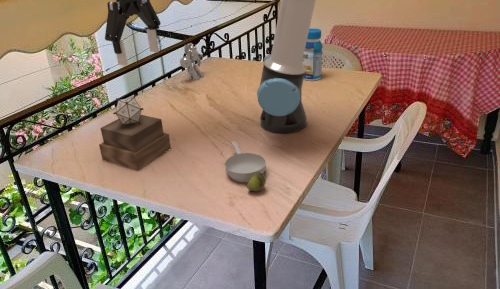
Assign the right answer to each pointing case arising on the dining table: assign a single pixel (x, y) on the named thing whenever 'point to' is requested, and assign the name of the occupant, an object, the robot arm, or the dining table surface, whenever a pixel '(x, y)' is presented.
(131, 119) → the game die
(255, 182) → the lime
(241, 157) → the saucepan
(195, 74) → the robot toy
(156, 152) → the walnut tower base
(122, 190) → the dining table surface
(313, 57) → the beverage bottle
